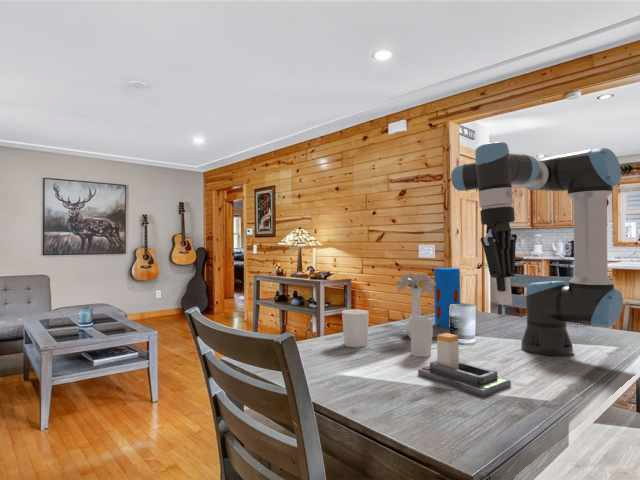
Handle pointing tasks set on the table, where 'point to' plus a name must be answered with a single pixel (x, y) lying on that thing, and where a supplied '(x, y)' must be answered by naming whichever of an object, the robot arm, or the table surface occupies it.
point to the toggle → (448, 350)
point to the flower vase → (415, 293)
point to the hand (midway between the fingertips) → (505, 304)
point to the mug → (421, 336)
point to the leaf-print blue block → (445, 293)
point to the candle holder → (355, 327)
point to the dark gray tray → (466, 378)
